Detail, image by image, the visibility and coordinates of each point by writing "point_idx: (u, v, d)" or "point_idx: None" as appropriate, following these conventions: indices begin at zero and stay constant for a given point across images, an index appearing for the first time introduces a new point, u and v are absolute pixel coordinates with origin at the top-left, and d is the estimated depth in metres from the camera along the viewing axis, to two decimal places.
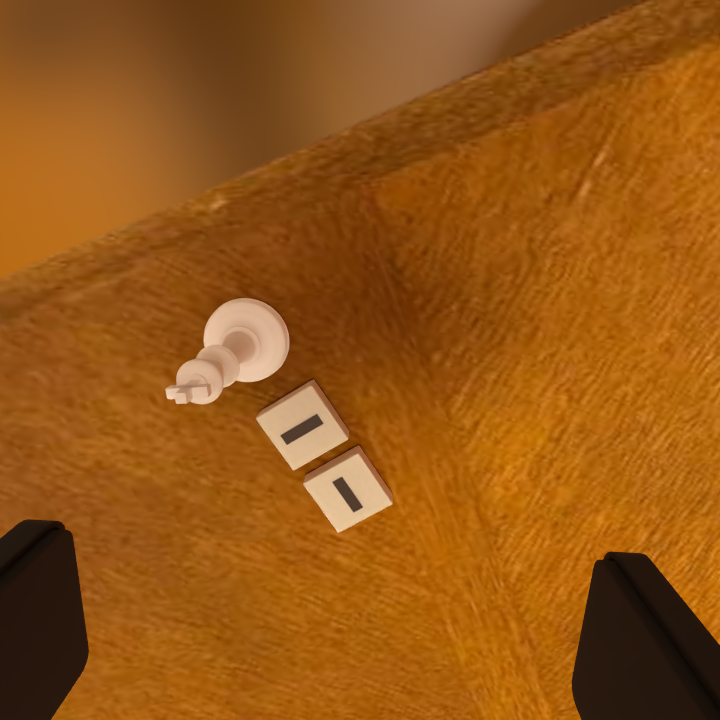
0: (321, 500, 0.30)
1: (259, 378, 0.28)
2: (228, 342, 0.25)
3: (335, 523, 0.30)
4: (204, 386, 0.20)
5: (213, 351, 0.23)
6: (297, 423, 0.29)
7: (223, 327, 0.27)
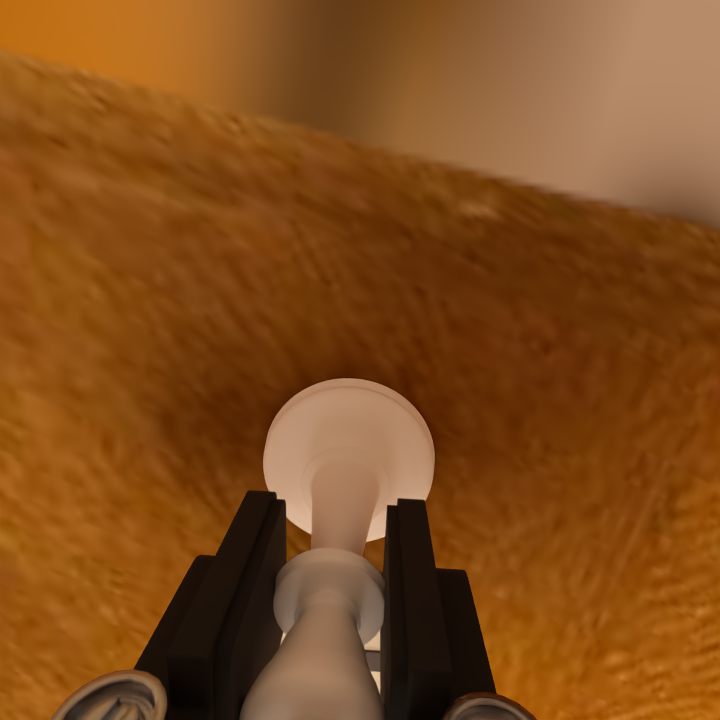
0: None
1: None
2: (352, 502, 0.11)
3: None
4: None
5: (352, 577, 0.08)
6: None
7: (335, 431, 0.13)
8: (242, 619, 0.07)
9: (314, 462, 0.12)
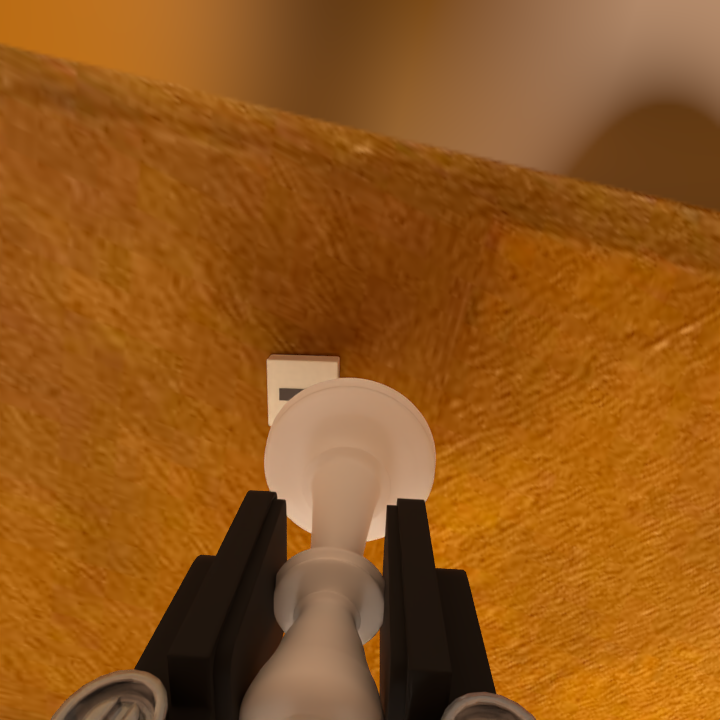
0: None
1: None
2: (353, 502, 0.11)
3: None
4: None
5: (352, 576, 0.08)
6: (302, 387, 0.27)
7: (336, 431, 0.13)
8: (243, 619, 0.07)
9: (315, 461, 0.12)
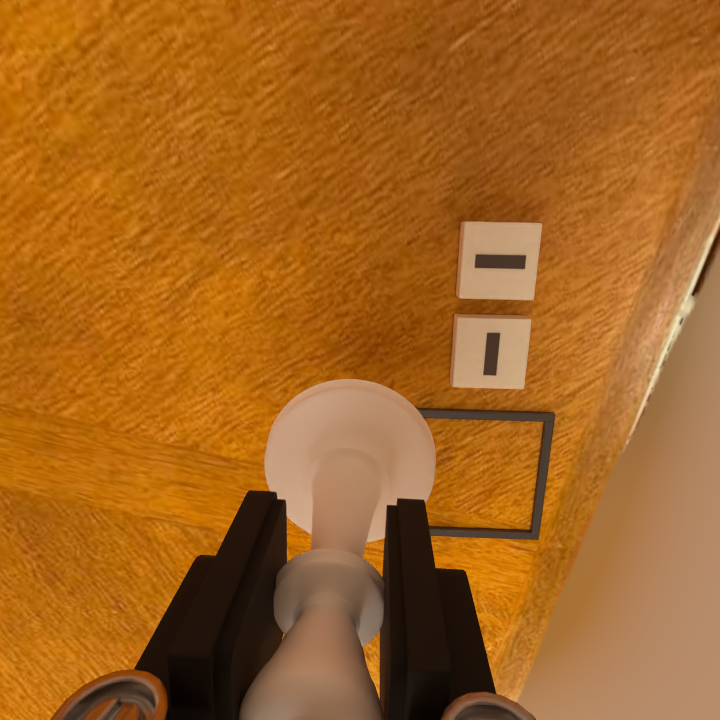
0: None
1: None
2: (353, 503, 0.11)
3: None
4: None
5: (351, 578, 0.08)
6: None
7: (336, 432, 0.13)
8: (243, 619, 0.07)
9: (315, 463, 0.12)
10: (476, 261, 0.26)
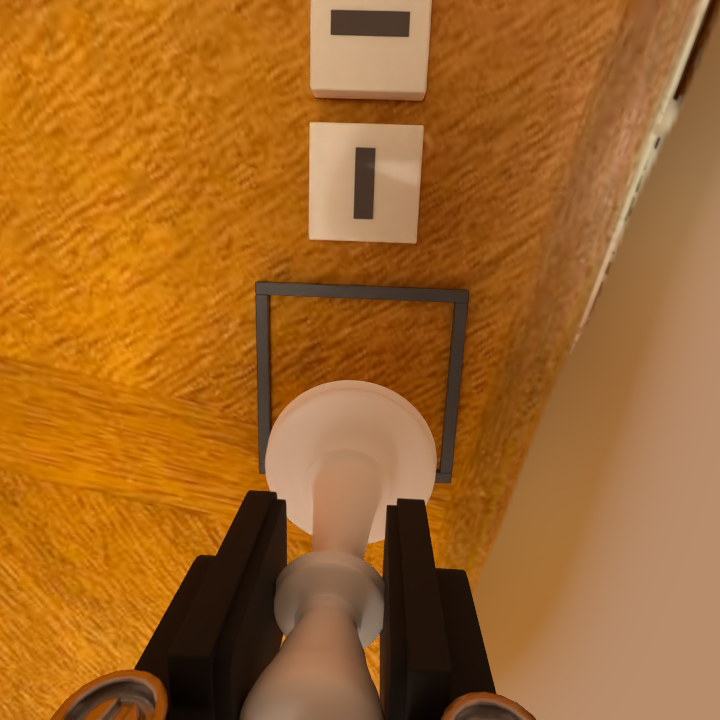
0: None
1: None
2: (354, 504, 0.11)
3: None
4: None
5: (353, 580, 0.08)
6: None
7: (337, 434, 0.13)
8: (242, 619, 0.06)
9: (316, 464, 0.12)
10: (332, 24, 0.16)
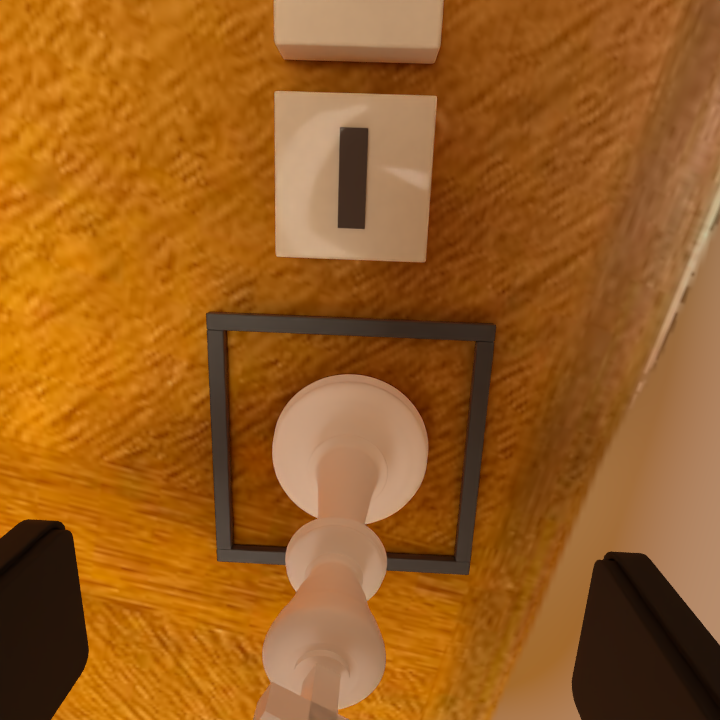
0: None
1: None
2: (354, 482, 0.12)
3: None
4: None
5: (355, 541, 0.10)
6: None
7: (338, 422, 0.14)
8: None
9: (319, 449, 0.14)
10: None
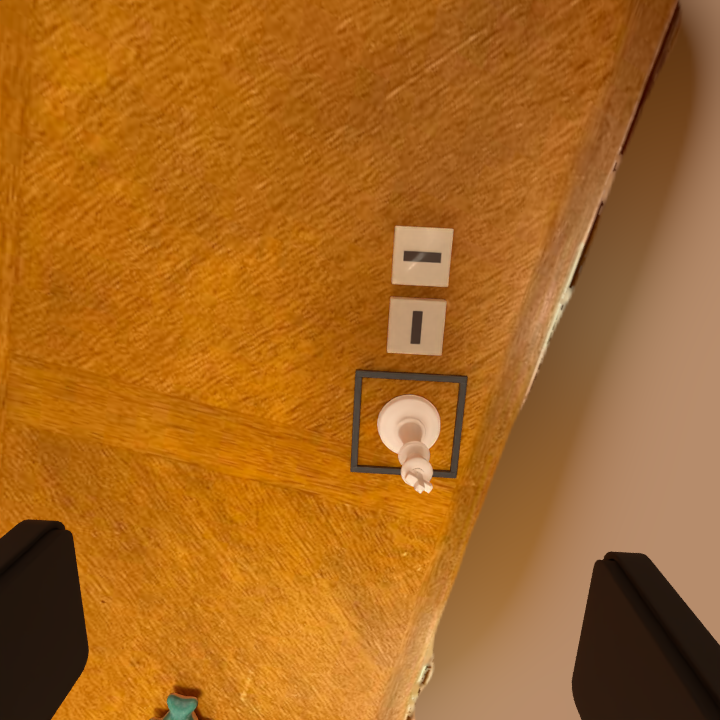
0: None
1: None
2: (416, 434, 0.35)
3: None
4: (430, 486, 0.29)
5: (421, 447, 0.33)
6: None
7: (406, 413, 0.37)
8: None
9: (400, 423, 0.37)
10: (404, 256, 0.34)
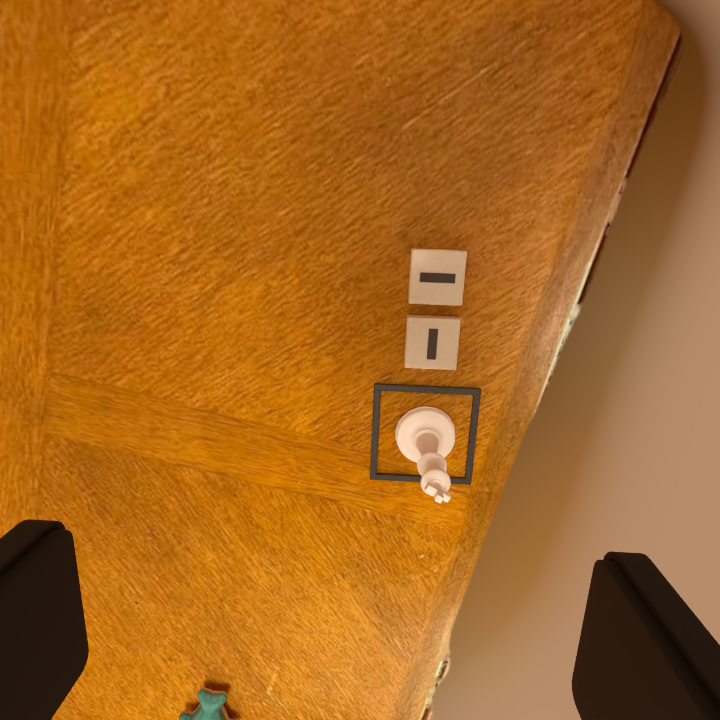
0: None
1: (418, 462, 0.40)
2: (433, 444, 0.37)
3: None
4: (449, 496, 0.32)
5: (438, 459, 0.35)
6: None
7: (423, 424, 0.39)
8: None
9: (417, 434, 0.39)
10: (420, 277, 0.36)
